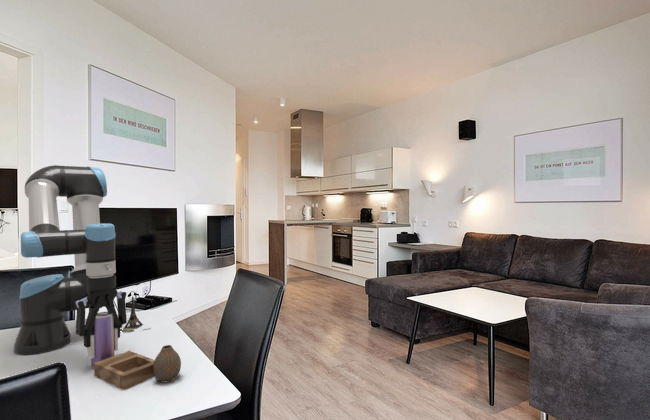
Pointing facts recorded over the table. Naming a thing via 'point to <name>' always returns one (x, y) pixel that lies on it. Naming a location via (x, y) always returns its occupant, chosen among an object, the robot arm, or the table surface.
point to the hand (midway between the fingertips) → (102, 353)
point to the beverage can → (103, 337)
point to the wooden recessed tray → (125, 369)
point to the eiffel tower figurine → (132, 321)
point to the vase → (167, 364)
